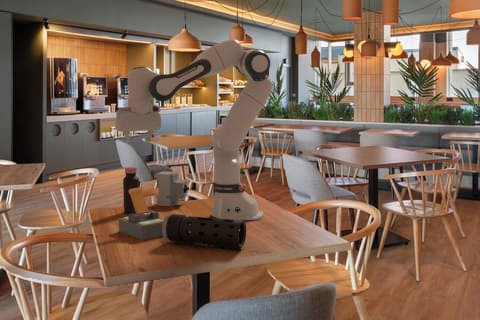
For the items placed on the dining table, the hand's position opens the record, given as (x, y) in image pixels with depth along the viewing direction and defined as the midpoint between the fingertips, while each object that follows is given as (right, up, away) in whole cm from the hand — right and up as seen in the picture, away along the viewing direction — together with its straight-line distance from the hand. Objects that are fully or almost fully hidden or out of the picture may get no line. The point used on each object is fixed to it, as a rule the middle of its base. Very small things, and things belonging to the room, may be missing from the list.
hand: (138, 142), depth 207 cm
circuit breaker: (+10, -28, +36) cm, 47 cm away
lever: (+5, -28, -14) cm, 32 cm away
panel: (+5, -35, -13) cm, 37 cm away
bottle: (-7, -31, +19) cm, 37 cm away
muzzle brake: (+28, -37, -29) cm, 55 cm away
